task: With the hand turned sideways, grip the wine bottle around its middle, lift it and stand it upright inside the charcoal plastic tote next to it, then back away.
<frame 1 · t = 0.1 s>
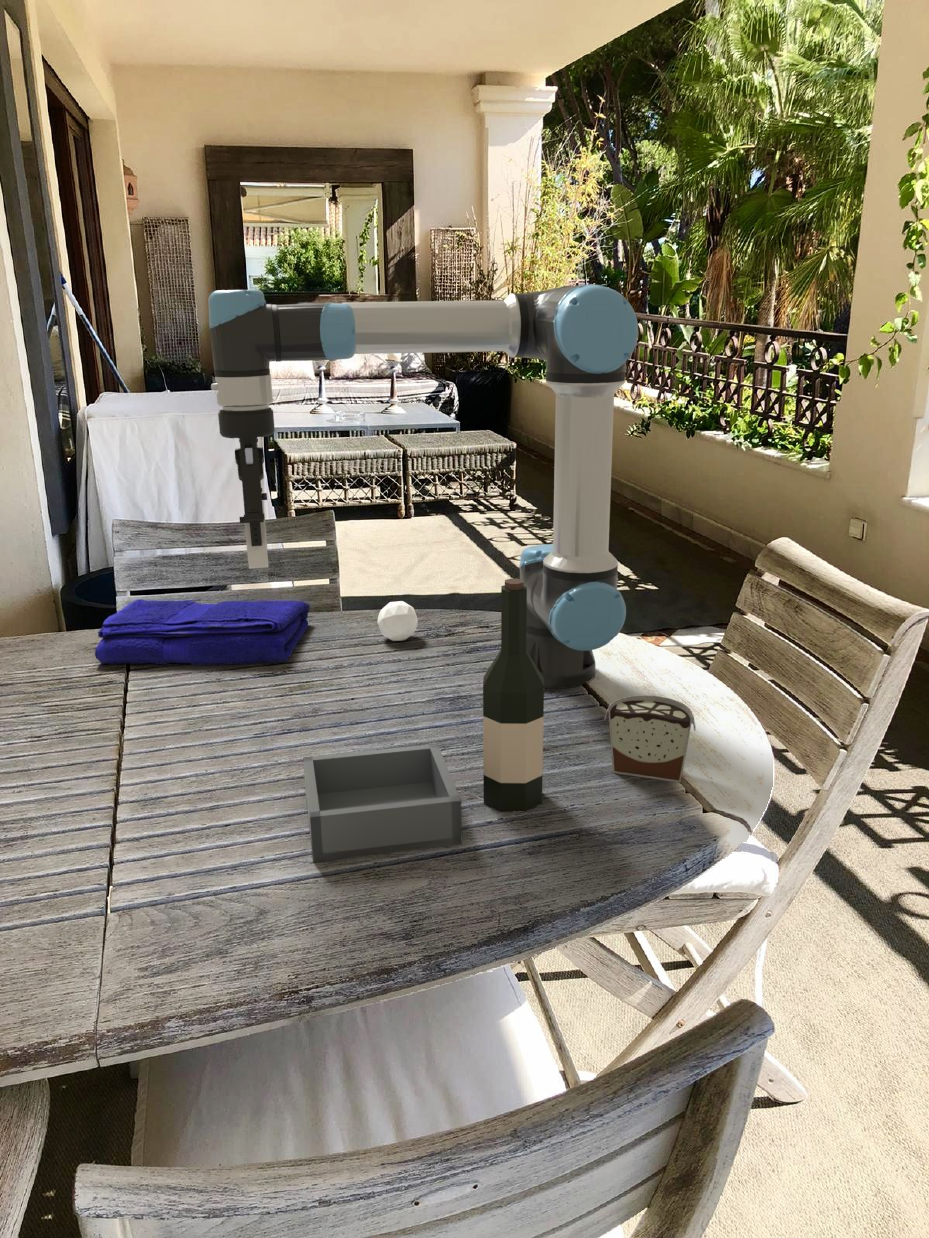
hand: (258, 555, 142), 28 cm above the table, tool pointing down, fingers open, 13 cm apart
towel: (209, 646, 190), on the table
tote: (380, 819, 125), on the table
food container: (649, 769, 138), on the table
ball: (398, 640, 191), on the table
wine bottle: (512, 798, 131), on the table
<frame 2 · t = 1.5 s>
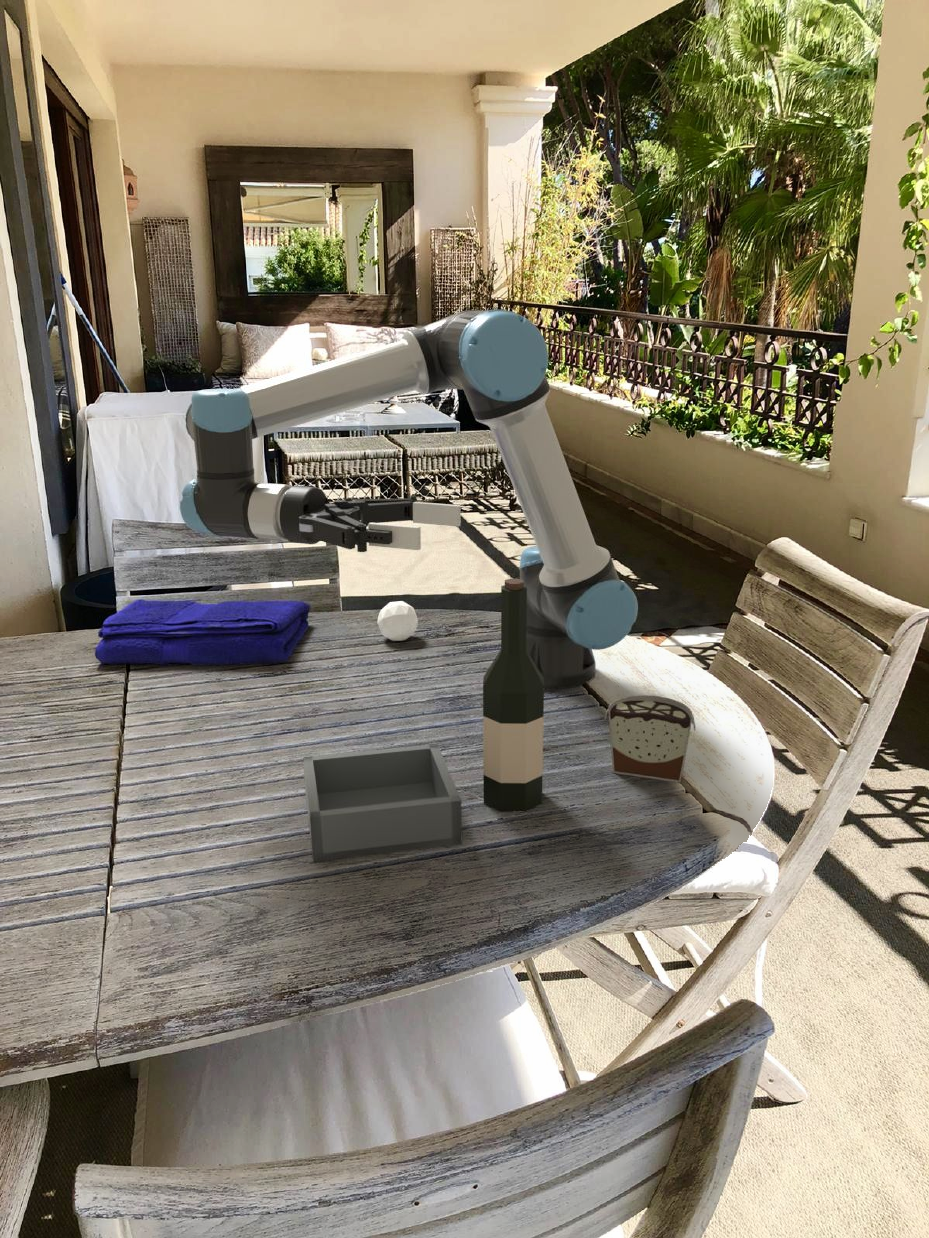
hand: (440, 526, 123), 36 cm above the table, tool horizontal, fingers open, 13 cm apart
nothing on the table moved.
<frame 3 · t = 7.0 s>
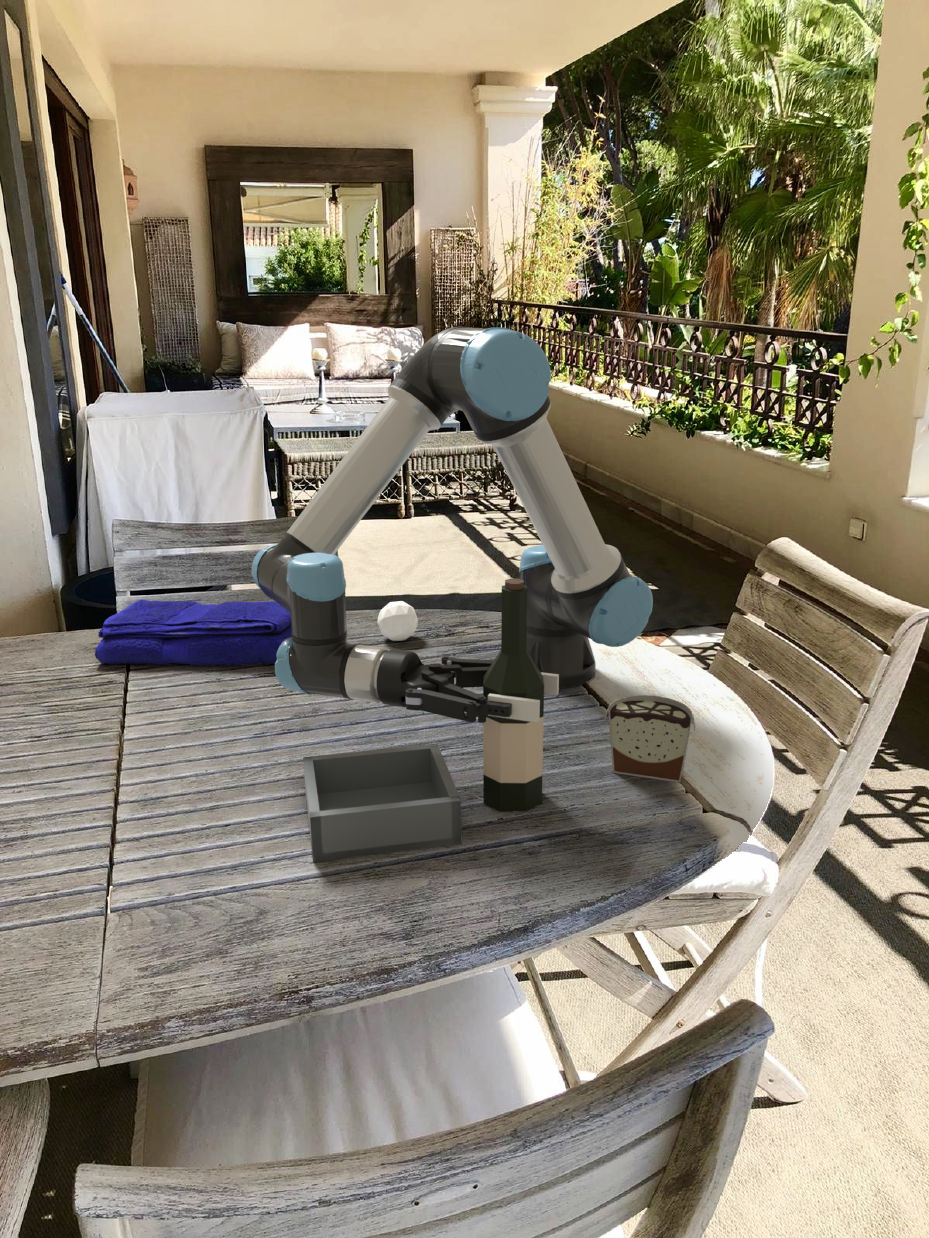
hand: (548, 697, 124), 15 cm above the table, tool horizontal, fingers closed on wine bottle, 8 cm apart
wine bottle: (512, 798, 131), on the table, touching gripper
everything else where it was.
when the fingers open (17 cm above the table, at t = 12.8 s): wine bottle drops 1 cm, resting on tote.
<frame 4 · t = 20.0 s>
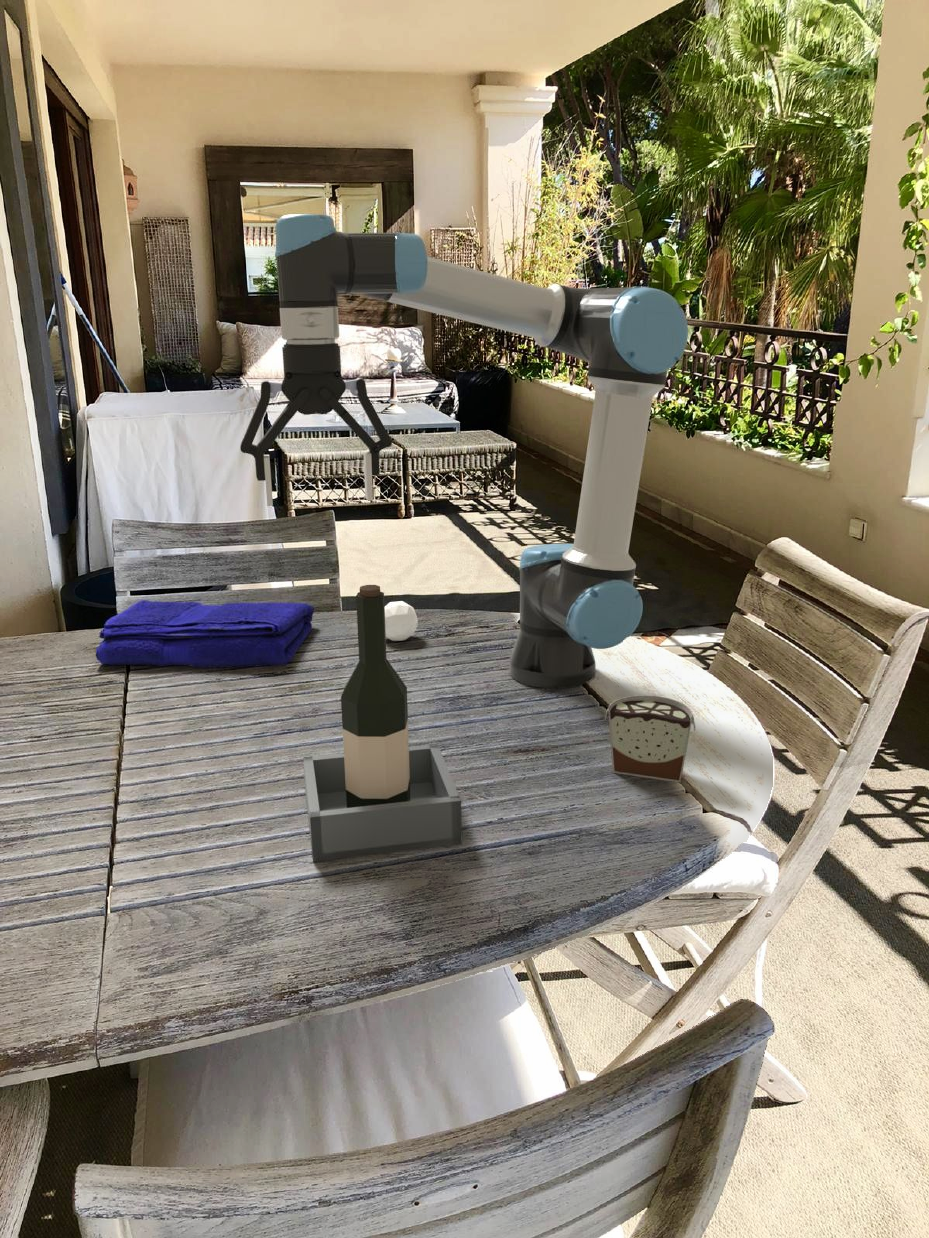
hand: (320, 501, 135), 37 cm above the table, tool pointing down, fingers open, 13 cm apart
wine bottle: (379, 814, 125), point 1 cm above the table, touching tote
at the end: wine bottle inside the target area on the tote (0.1 cm from its centre), point 0.8 cm above the tote's base; wine bottle tilted 0°; the gripper is holding nothing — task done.
